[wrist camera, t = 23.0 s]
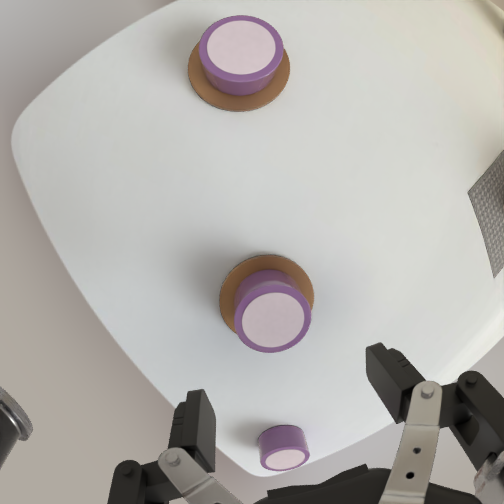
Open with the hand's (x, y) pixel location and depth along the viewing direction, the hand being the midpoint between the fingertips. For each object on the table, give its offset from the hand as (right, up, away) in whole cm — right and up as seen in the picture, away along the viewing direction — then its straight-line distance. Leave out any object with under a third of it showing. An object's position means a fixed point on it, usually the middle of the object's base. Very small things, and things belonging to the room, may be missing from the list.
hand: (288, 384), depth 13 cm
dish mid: (-1, +3, +8) cm, 9 cm away
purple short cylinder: (-3, +19, +4) cm, 20 cm away
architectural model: (+27, +12, +8) cm, 31 cm away
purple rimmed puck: (+1, -14, +13) cm, 19 cm away
